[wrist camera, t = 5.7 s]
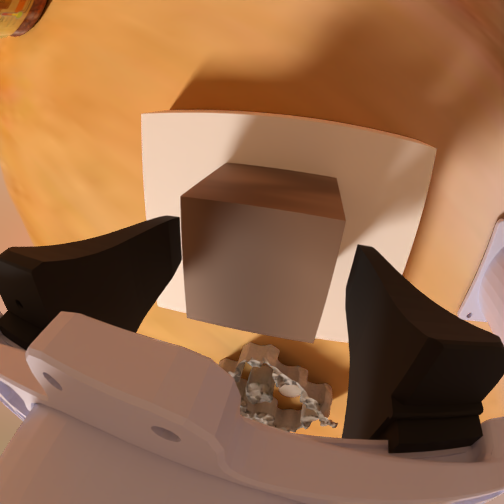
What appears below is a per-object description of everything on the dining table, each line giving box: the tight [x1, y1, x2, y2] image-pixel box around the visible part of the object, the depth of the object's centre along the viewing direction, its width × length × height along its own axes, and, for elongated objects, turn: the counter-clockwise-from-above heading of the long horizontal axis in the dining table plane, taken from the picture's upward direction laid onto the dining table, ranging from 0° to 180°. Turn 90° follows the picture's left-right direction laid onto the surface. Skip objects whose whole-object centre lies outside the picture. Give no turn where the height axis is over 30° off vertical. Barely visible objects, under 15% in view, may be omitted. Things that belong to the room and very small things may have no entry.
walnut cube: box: [180, 163, 346, 343], centre depth 12 cm, size 5×5×5 cm
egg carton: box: [219, 342, 338, 432], centre depth 23 cm, size 11×8×4 cm
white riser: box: [141, 110, 437, 343], centre depth 16 cm, size 14×12×3 cm
